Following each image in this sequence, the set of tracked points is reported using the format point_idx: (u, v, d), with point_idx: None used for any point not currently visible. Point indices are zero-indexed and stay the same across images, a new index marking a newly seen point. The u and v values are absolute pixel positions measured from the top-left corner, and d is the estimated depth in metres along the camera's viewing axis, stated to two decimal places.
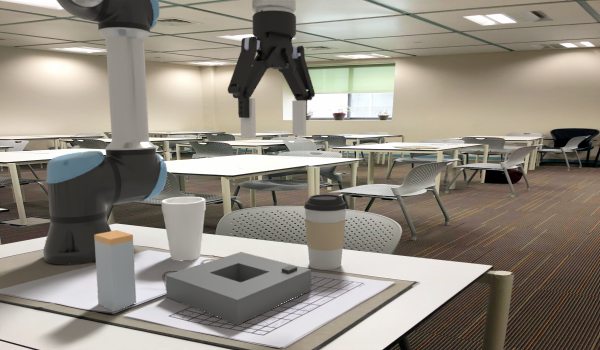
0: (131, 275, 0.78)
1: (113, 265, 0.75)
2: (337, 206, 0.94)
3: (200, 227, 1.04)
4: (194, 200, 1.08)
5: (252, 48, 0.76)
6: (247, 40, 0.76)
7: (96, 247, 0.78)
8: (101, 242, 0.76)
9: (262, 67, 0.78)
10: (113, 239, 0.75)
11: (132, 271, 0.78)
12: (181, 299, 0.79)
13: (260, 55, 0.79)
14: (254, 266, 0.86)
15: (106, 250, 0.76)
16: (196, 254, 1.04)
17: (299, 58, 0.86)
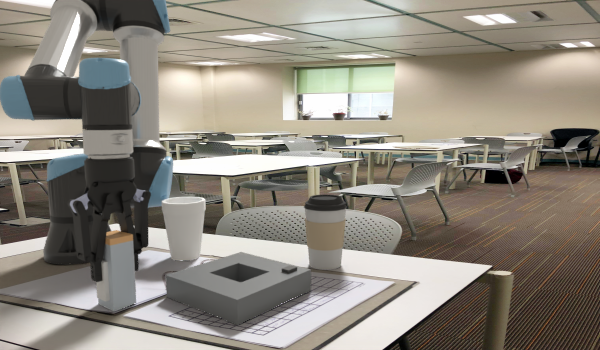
0: (131, 275, 0.78)
1: (113, 265, 0.75)
2: (337, 206, 0.94)
3: (200, 227, 1.04)
4: (194, 200, 1.08)
5: (80, 214, 0.72)
6: (71, 205, 0.72)
7: None
8: None
9: (101, 224, 0.75)
10: (113, 239, 0.75)
11: (132, 271, 0.78)
12: (181, 299, 0.79)
13: None
14: (254, 266, 0.86)
15: (106, 250, 0.76)
16: (196, 254, 1.04)
17: (141, 202, 0.80)
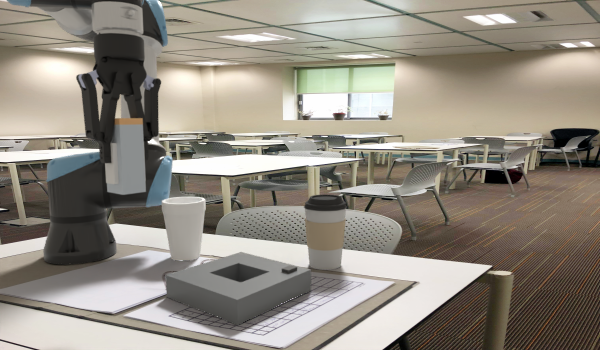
0: (141, 160, 0.76)
1: (122, 145, 0.73)
2: (337, 206, 0.94)
3: (200, 227, 1.04)
4: (194, 200, 1.08)
5: (89, 87, 0.70)
6: (80, 79, 0.70)
7: None
8: None
9: (111, 103, 0.73)
10: (122, 119, 0.73)
11: (142, 156, 0.76)
12: (181, 299, 0.79)
13: None
14: (254, 266, 0.86)
15: (115, 131, 0.74)
16: (196, 254, 1.04)
17: (151, 89, 0.78)
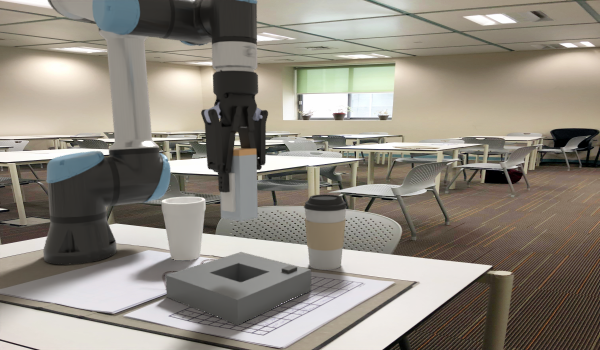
0: (254, 188, 0.80)
1: (241, 175, 0.78)
2: (337, 206, 0.94)
3: (200, 227, 1.04)
4: (194, 200, 1.08)
5: (215, 122, 0.74)
6: (206, 114, 0.74)
7: None
8: None
9: (230, 135, 0.77)
10: (241, 150, 0.77)
11: (255, 184, 0.80)
12: (181, 299, 0.79)
13: None
14: (254, 266, 0.86)
15: (233, 162, 0.78)
16: (196, 254, 1.04)
17: (260, 121, 0.83)
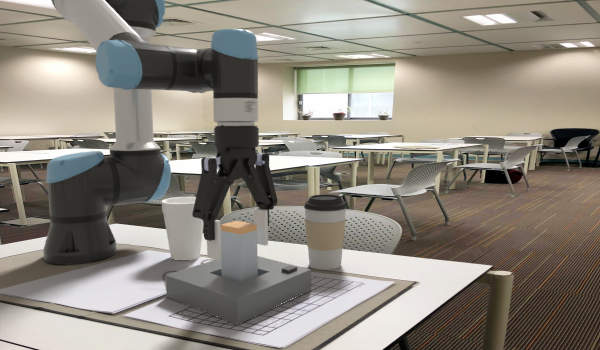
0: (255, 263, 0.82)
1: (242, 253, 0.79)
2: (337, 206, 0.94)
3: (200, 227, 1.04)
4: (194, 200, 1.08)
5: (212, 171, 0.75)
6: (206, 162, 0.75)
7: (222, 236, 0.82)
8: (229, 231, 0.80)
9: (225, 185, 0.77)
10: (242, 228, 0.79)
11: (255, 259, 0.82)
12: (181, 299, 0.79)
13: (222, 170, 0.78)
14: None
15: (234, 239, 0.80)
16: (196, 254, 1.04)
17: (263, 166, 0.84)
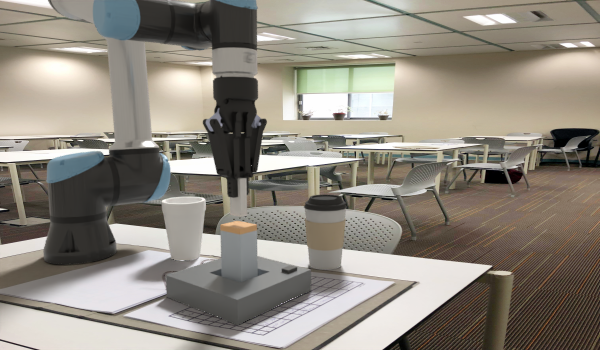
0: (255, 263, 0.82)
1: (242, 253, 0.79)
2: (337, 206, 0.94)
3: (200, 227, 1.04)
4: (194, 200, 1.08)
5: (217, 131, 0.75)
6: (208, 124, 0.75)
7: (222, 236, 0.82)
8: (229, 231, 0.80)
9: (234, 142, 0.78)
10: (242, 228, 0.79)
11: (255, 259, 0.82)
12: (181, 299, 0.79)
13: None
14: None
15: (234, 239, 0.80)
16: (196, 254, 1.04)
17: (258, 128, 0.82)
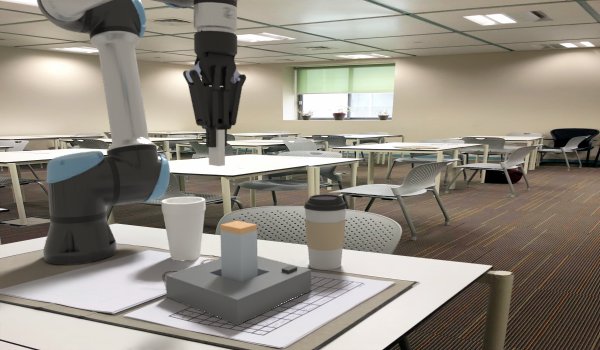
0: (255, 263, 0.82)
1: (242, 253, 0.79)
2: (337, 206, 0.94)
3: (200, 227, 1.04)
4: (194, 200, 1.08)
5: (197, 82, 0.79)
6: (188, 75, 0.79)
7: (222, 236, 0.82)
8: (229, 231, 0.80)
9: (213, 94, 0.82)
10: (242, 228, 0.79)
11: (255, 259, 0.82)
12: (181, 299, 0.79)
13: None
14: None
15: (234, 239, 0.80)
16: (196, 254, 1.04)
17: (237, 83, 0.87)
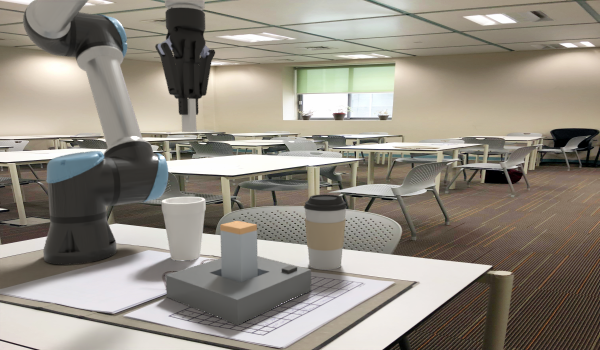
0: (255, 263, 0.82)
1: (242, 253, 0.79)
2: (337, 206, 0.94)
3: (200, 227, 1.04)
4: (194, 200, 1.08)
5: (168, 54, 0.88)
6: (159, 47, 0.87)
7: (222, 236, 0.82)
8: (229, 231, 0.80)
9: (184, 66, 0.91)
10: (242, 228, 0.79)
11: (255, 259, 0.82)
12: (181, 299, 0.79)
13: None
14: None
15: (234, 239, 0.80)
16: (196, 254, 1.04)
17: (206, 57, 0.95)
